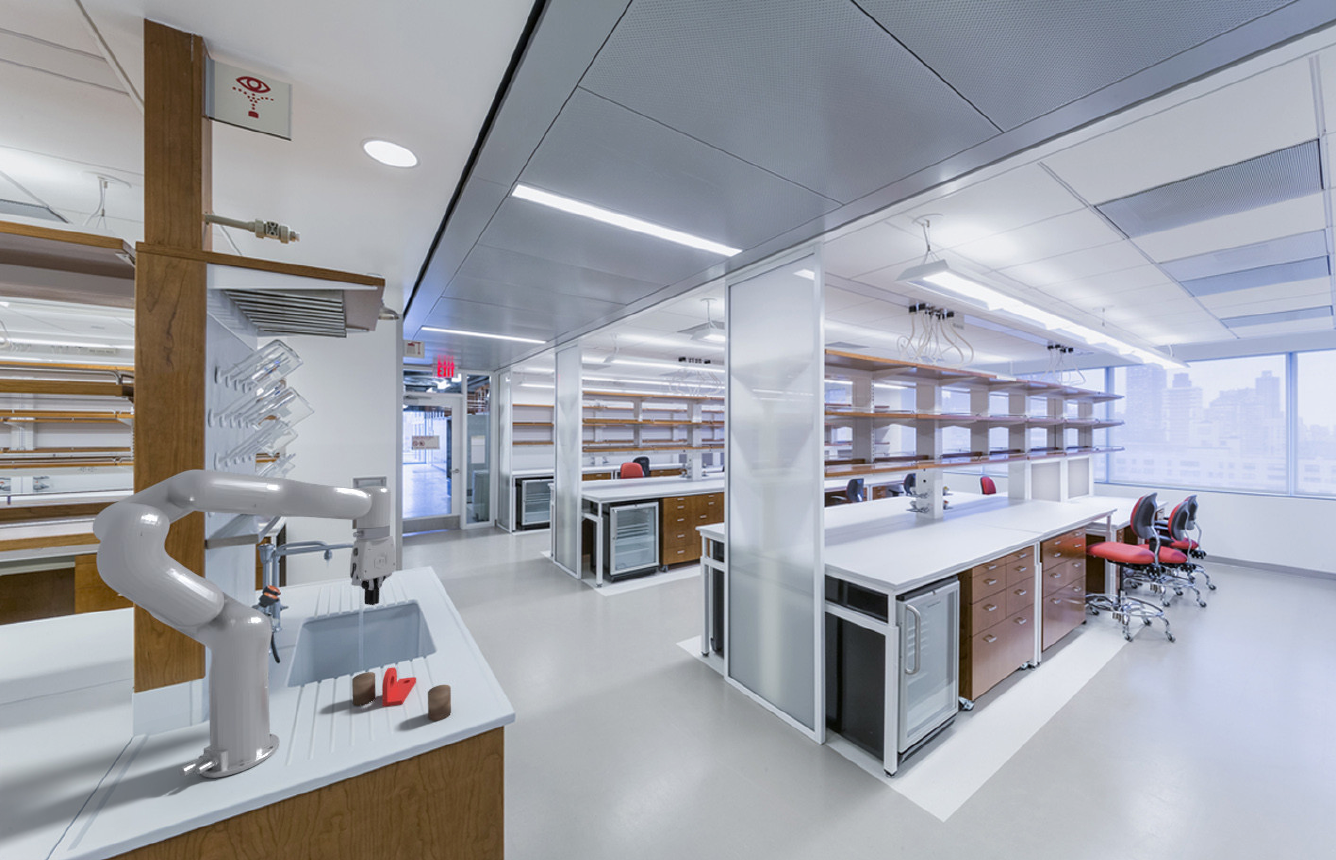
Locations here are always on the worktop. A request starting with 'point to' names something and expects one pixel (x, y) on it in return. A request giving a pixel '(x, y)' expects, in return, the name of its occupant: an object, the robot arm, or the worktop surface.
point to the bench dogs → (436, 696)
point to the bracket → (395, 688)
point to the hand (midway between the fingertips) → (371, 603)
